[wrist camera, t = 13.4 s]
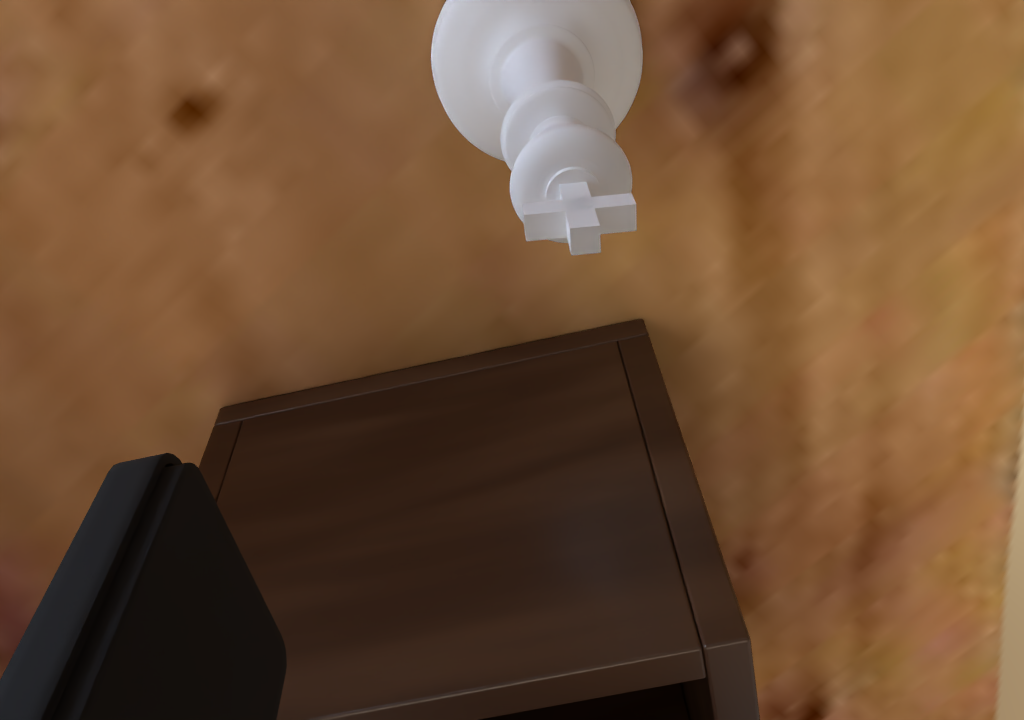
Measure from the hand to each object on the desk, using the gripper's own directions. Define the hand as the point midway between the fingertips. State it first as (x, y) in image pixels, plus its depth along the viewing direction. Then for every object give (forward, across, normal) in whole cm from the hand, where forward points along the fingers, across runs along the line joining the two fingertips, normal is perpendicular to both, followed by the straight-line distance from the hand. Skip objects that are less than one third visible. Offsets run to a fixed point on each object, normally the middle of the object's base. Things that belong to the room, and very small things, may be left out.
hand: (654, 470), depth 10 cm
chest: (+15, +5, +14) cm, 21 cm away
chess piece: (+15, 0, -1) cm, 15 cm away
